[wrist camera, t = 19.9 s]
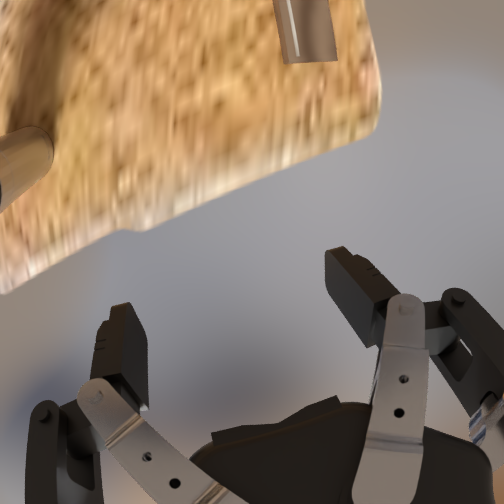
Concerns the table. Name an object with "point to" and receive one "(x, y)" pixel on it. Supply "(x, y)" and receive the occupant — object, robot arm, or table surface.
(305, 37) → the walnut board
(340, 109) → the table surface
